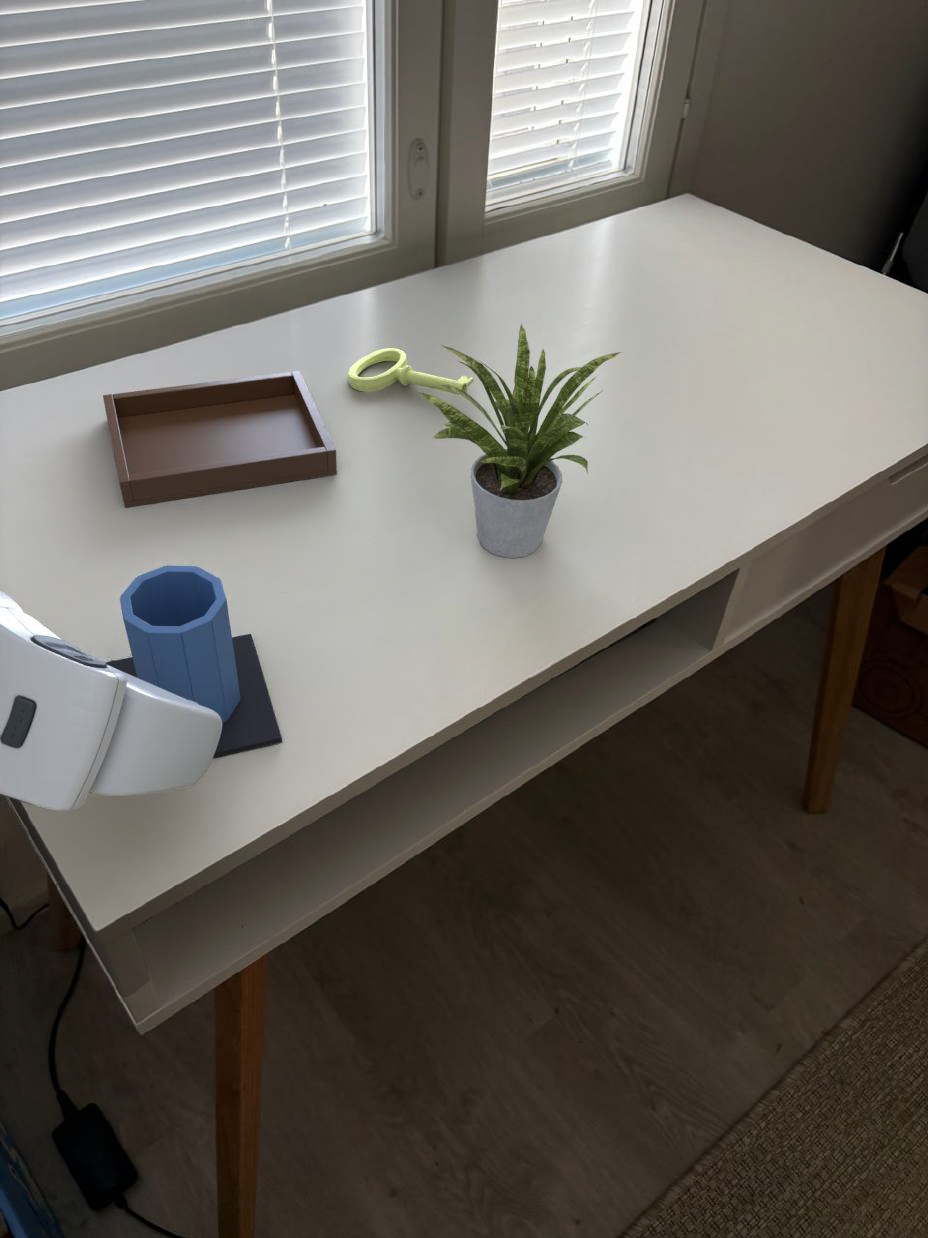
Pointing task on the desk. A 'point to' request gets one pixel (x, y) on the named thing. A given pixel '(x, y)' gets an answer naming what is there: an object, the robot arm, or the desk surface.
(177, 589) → the blue faceted tube
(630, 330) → the desk surface
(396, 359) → the key
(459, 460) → the desk surface
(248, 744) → the mat
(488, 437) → the house plant
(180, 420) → the tray
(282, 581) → the desk surface
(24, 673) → the robot arm
